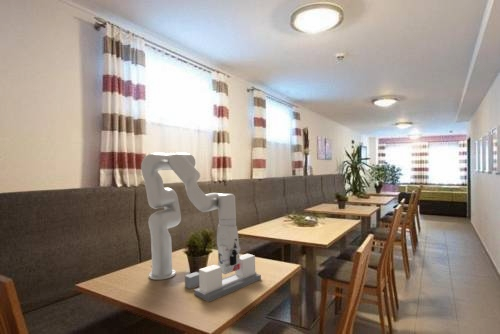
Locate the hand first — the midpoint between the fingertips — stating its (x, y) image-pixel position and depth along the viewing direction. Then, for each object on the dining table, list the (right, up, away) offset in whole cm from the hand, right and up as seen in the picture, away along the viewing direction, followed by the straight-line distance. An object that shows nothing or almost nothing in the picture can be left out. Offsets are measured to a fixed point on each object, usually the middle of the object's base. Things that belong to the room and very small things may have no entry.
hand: (228, 262), depth 131 cm
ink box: (0, -4, 0) cm, 4 cm away
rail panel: (0, -10, 0) cm, 10 cm away
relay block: (-16, -11, +2) cm, 20 cm away
